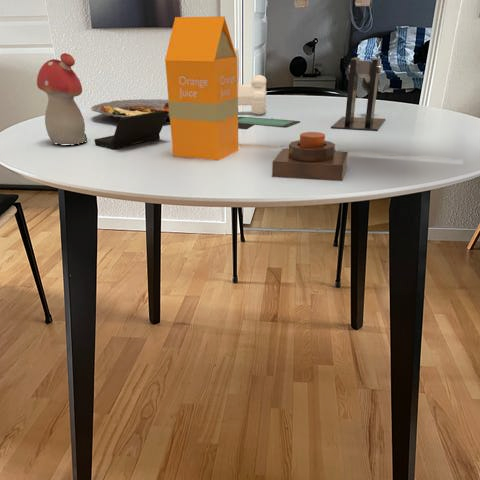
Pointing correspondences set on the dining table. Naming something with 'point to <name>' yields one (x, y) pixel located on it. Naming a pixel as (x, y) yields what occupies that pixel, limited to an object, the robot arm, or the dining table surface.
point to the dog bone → (254, 94)
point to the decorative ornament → (62, 101)
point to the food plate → (131, 107)
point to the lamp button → (312, 139)
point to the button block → (310, 162)
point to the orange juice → (202, 88)
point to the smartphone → (264, 122)
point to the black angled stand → (135, 130)
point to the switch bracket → (349, 120)
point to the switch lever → (365, 73)
